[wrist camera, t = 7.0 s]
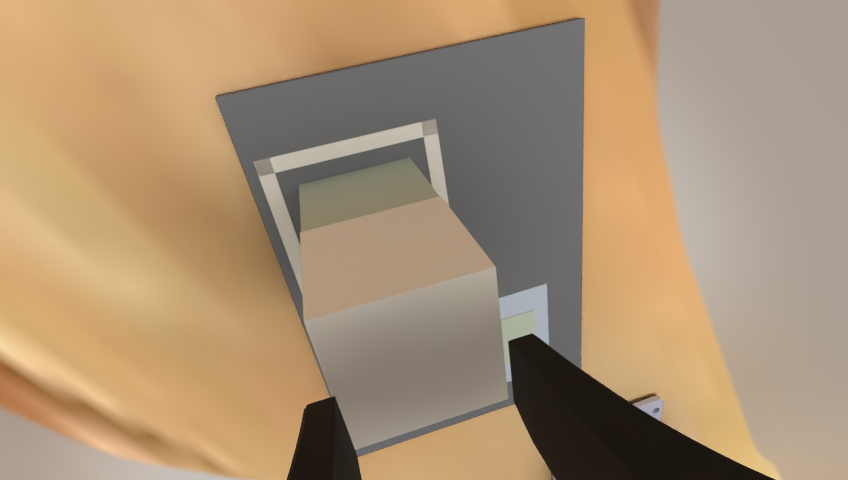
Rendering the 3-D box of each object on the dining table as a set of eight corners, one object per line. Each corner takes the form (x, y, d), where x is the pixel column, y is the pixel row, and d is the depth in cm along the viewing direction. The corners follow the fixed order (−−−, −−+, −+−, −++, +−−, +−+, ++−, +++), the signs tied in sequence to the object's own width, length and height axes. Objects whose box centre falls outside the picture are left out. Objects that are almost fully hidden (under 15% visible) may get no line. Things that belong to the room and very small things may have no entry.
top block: (457, 307, 17) (508, 399, 13) (337, 342, 16) (351, 451, 12) (441, 196, 14) (495, 266, 11) (299, 232, 14) (303, 322, 10)
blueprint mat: (577, 376, 28) (581, 382, 27) (353, 452, 26) (354, 459, 25) (579, 17, 18) (585, 18, 18) (217, 95, 16) (215, 97, 16)
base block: (427, 251, 21) (459, 308, 17) (329, 278, 20) (338, 345, 16) (409, 157, 18) (441, 198, 15) (298, 184, 18) (301, 235, 14)
